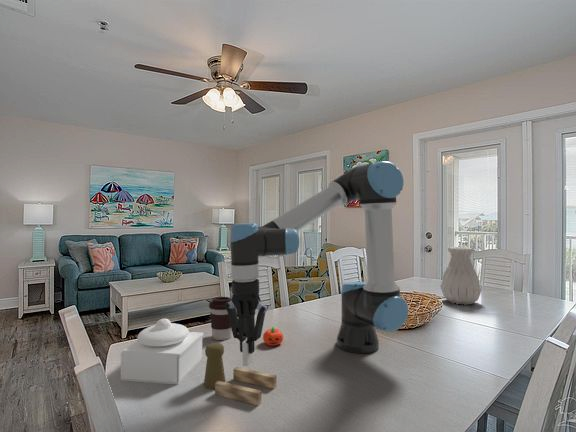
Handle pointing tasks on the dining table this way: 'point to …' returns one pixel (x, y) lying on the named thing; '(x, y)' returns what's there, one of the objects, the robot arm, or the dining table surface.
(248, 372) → the pair of wooden strips
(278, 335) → the pumpkin
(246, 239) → the robot arm
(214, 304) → the coffee cup
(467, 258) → the vase
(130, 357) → the butter dish
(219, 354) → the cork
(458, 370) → the dining table surface
